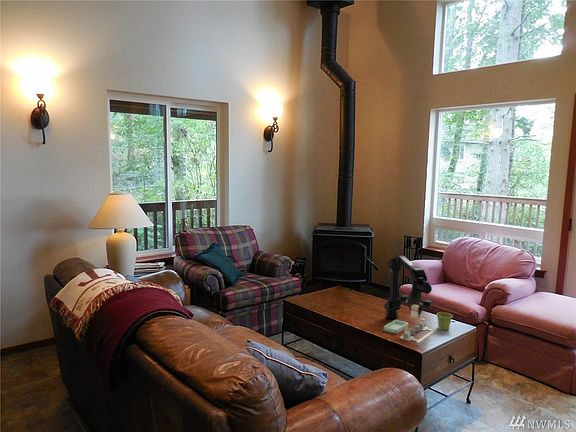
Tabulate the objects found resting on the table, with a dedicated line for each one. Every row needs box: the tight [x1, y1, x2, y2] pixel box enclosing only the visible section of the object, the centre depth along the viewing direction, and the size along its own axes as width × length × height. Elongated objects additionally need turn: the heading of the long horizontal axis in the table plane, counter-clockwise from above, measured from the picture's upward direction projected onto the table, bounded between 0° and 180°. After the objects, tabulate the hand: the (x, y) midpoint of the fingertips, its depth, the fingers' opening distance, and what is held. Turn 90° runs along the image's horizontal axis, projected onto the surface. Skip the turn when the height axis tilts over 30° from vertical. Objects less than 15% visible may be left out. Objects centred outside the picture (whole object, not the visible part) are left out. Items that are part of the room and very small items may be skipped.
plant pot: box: [436, 311, 453, 331], centre depth 254 cm, size 9×9×9 cm
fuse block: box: [399, 317, 437, 345], centre depth 244 cm, size 11×27×6 cm, turn 139°
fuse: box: [409, 304, 422, 320], centre depth 245 cm, size 4×4×7 cm
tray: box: [382, 319, 410, 335], centre depth 253 cm, size 9×17×2 cm, turn 139°
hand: (415, 314), depth 245 cm, fingers closed on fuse, 4 cm apart
